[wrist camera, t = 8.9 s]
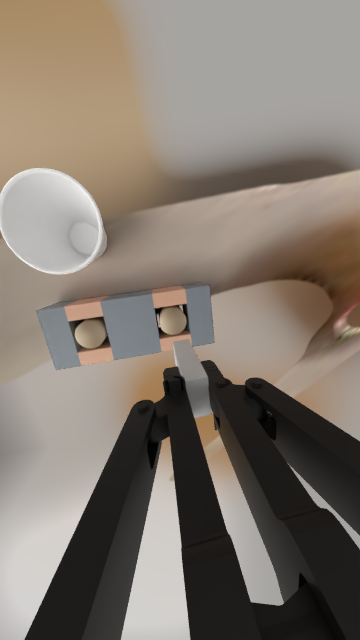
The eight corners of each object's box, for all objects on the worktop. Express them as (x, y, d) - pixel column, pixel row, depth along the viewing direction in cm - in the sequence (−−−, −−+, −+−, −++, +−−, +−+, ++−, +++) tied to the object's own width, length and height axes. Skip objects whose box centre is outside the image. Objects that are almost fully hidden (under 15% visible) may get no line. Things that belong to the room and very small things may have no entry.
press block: (72, 353, 35) (56, 370, 29) (57, 303, 32) (36, 310, 26) (205, 331, 37) (214, 342, 31) (200, 282, 34) (209, 285, 29)
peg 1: (91, 336, 34) (79, 350, 28) (85, 314, 33) (71, 324, 27) (115, 332, 34) (107, 345, 29) (110, 310, 33) (100, 319, 28)
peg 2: (160, 325, 35) (161, 336, 29) (156, 303, 34) (157, 310, 28) (182, 321, 36) (188, 332, 30) (179, 300, 34) (184, 306, 29)
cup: (133, 237, 31) (122, 222, 21) (94, 285, 32) (66, 293, 22) (78, 187, 29) (34, 140, 18) (38, 241, 30) (-26, 226, 19)
